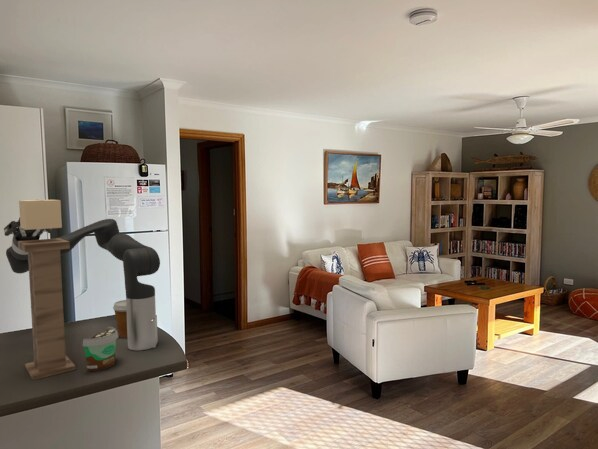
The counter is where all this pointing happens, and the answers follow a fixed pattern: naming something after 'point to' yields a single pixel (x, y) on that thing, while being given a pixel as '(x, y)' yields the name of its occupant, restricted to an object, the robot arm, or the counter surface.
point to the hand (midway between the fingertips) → (32, 217)
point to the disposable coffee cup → (121, 317)
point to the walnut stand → (46, 307)
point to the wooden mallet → (40, 214)
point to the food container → (101, 350)
